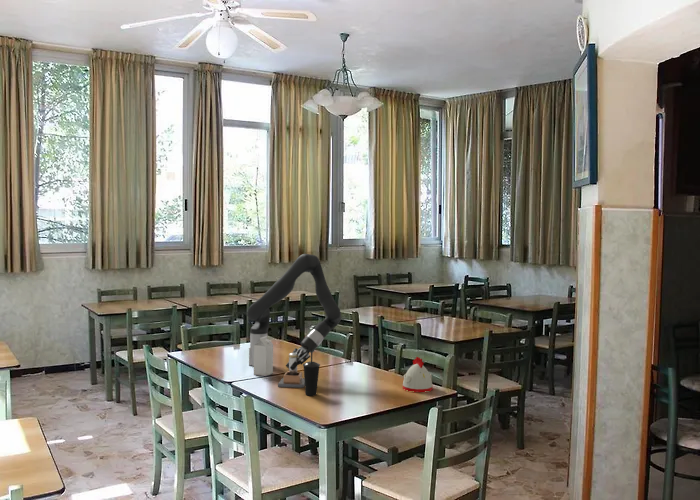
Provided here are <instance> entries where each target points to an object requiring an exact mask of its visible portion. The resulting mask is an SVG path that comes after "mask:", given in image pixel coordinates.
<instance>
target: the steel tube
mask: <svg viewBox="0 0 700 500" xmlns="http://www.w3.org/2000/svg"><path fill="white" fill-rule="evenodd" d="M297 356H298V354H297V353H292V352H290V353H288V362H289V368H288V372H289V375H296V376H297V372H298V366H297V367H296V368H295V369H294V370H291V369H290V366H291V365H292V364H293V363H294V362H295V360H296V359H297Z"/></svg>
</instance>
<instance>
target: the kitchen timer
mask: <svg viewBox="0 0 700 500" xmlns="http://www.w3.org/2000/svg"><path fill="white" fill-rule="evenodd" d="M432 380H433V376H432V373H429V371H428V369H427V368H426V367H425V366H424V361H423V358H421V357H419V356H416V358H414V360H412V365H411V366H410V367H409V368H408V369H407V371H406V373H405V374H404V375H403V382H402V390H404V389H405V390H404V391H406V390H408V391H407V392H409V391H414V392H413V393H415V392H425V391H430V392H431V390H432V391H433V382H432ZM425 393H426V392H425Z"/></svg>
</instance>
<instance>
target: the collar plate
mask: <svg viewBox="0 0 700 500" xmlns="http://www.w3.org/2000/svg"><path fill="white" fill-rule="evenodd" d="M277 388H295V389H296V388H297V389H305V380H304V378H303V372H301V371H300V372H299V371H297V376H296V375H289V371H285V373H284V374H283V377H282V378H280V380H279V382H278V384H277Z"/></svg>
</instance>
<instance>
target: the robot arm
mask: <svg viewBox="0 0 700 500" xmlns="http://www.w3.org/2000/svg"><path fill="white" fill-rule="evenodd" d="M304 273H310V274H311V276H312V278H313V279H314V285H315V286H314V287H315V295H316V297H317V300H318V301H319V303H320V305H321V306H322V308H323V310H324V312H325V314H326V317H325V318H324V319H323V320H322V321H319V322H318V323H317V324H316V325H315V326H314V327H313V329H311V330H310V331H309V333H307V335H306V336H305V337H304V338H303V339H302V341H301V342H300V345H301V346H299V348H296V347H295V348H294V350H292V352H291V353H297V354H298V356H297V359H296V360H295V362H294V363H293V364H292V365H291V366H290V369H291V370H294V369H295V368H296V367H297V368H298V366H300V365H302V366H303V364H304V363H306V361H307V360H309V359H311V350H313V352H312V354H313V353H314V351H316V349H317V348H319V346H320V345H321V343H322V342H323V340H324V339H325V338H326V337H327V336H328V335H329V333H330V332H331V331H333V330H334V329H335V327H337V326H338V325H339V323H340V322H341V320H342V312H341V309H340V307H339V306H338V303H336V301H335V299H334V296H333V295H332V292H331V290H330V287H329V286H328V284H327V281H326V277H325V274H324V271H323V268H322V263H321V261H320V258H319V257H318V256H317V255H314V254H311V253H303V254H301V255H299V256H298V257H297V258H296V260H295V261H294V262H293V263H292V264H291V266H290V267H289V268H288V269H287V270H286V271H285V272H284V274H282V276H280V277H279V278H278V279H277V280H276V281H275V282H274V284H272V285H271V286H270V287H269V288H268V290H267V291H265V292H264V294H262V296H261V297H259V298H258V299H257V300H256V301H254V302H253V303H252V304H251V305H250V306H249V307H248V308H247V311H246V313H247V318H248V319H249V320H250V321H253V322H254V324H253V325H252V326H251V327H250V334H249V335H250V336H249V348H248V365H249V366H252V367H254V345H255V344H256V343H257V342H258V341H260V338H262V337H265V336H267V337H268V331H269V328H270V320H271V311H270V308H271V307H272V306H274V305H276V304H277V303H279V302H281V301H282V300H284V299H285V298H286V297H288V295H289V294H291V292H292V291H293V289H294V287H295V285H296V280H297V279H298V278H299V277H300V276H301V275H303V274H304ZM285 367H286V368H287V369H289V361H287V363H286V365H285Z"/></svg>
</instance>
